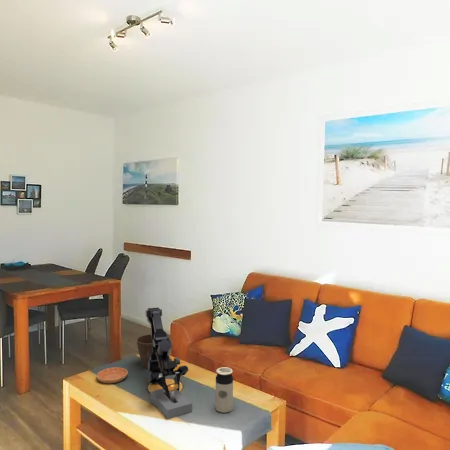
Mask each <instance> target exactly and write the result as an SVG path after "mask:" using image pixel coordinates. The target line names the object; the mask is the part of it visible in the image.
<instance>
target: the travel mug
mask: <svg viewBox="0 0 450 450" xmlns="http://www.w3.org/2000/svg"><path fill="white" fill-rule="evenodd" d="M215 372H216V376H215V397H214V398H215V405H214V406H215V410H216V412H219V413H221V414H222V413H223V414H224V413H229V412H231V411H232V410H233V408H234V376H233V372H234V371H233V369H232V368H231V367H225V366H224V367H218V368H217V369H216V371H215Z"/></svg>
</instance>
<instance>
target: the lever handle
mask: <svg viewBox="0 0 450 450" xmlns="http://www.w3.org/2000/svg"><path fill="white" fill-rule="evenodd" d="M167 387H168V390H169V392H170V400H171V401H172V402H173V403H174V391H176V390H178V384H177V383H175V382H174V383H171V384H167Z"/></svg>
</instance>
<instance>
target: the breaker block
mask: <svg viewBox="0 0 450 450" xmlns="http://www.w3.org/2000/svg"><path fill="white" fill-rule="evenodd" d="M149 396H150V401H151V402H152V404H154V406H155V407H156V408H157V409H158V410H159V411H160V412H161V414H162V415H163V416H164V417H165V419H166V420H169V419H173V418H176V417H179V416H182V415H186V414H189V413H193V403H192V402H191V401H190V400H189V399H188V398H187V397H186V396H185V395H184V394H183V393H182V392H181V391H180V390H179V391H178V390H176V391H174V403H173V402H172V401H171V400H170V392H169V394H167V392H166V391H165V390H164V389H163V388H162V387H161V388H159V389H155V390H151V391H150V395H149Z"/></svg>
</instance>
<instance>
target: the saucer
mask: <svg viewBox="0 0 450 450" xmlns="http://www.w3.org/2000/svg"><path fill="white" fill-rule="evenodd" d="M128 372H129V371H128V370H127V369H126V368H123V367H114V366H113V367H108V368H104V369H102V370H100V371H98V372H97V373H96V378H97V380H98V381H99V382H101V383H103V384H107V385H108V384H110V385H111V384H117V383H120V382H122V381H124V379H126V377H127V376H128Z"/></svg>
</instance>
